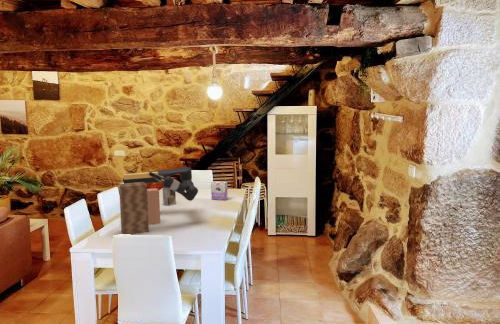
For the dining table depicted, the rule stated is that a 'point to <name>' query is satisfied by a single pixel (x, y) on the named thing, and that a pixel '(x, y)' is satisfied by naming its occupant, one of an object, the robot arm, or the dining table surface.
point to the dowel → (138, 175)
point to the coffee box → (168, 197)
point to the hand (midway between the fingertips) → (148, 172)
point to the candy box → (219, 190)
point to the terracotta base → (153, 206)
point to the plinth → (134, 208)
